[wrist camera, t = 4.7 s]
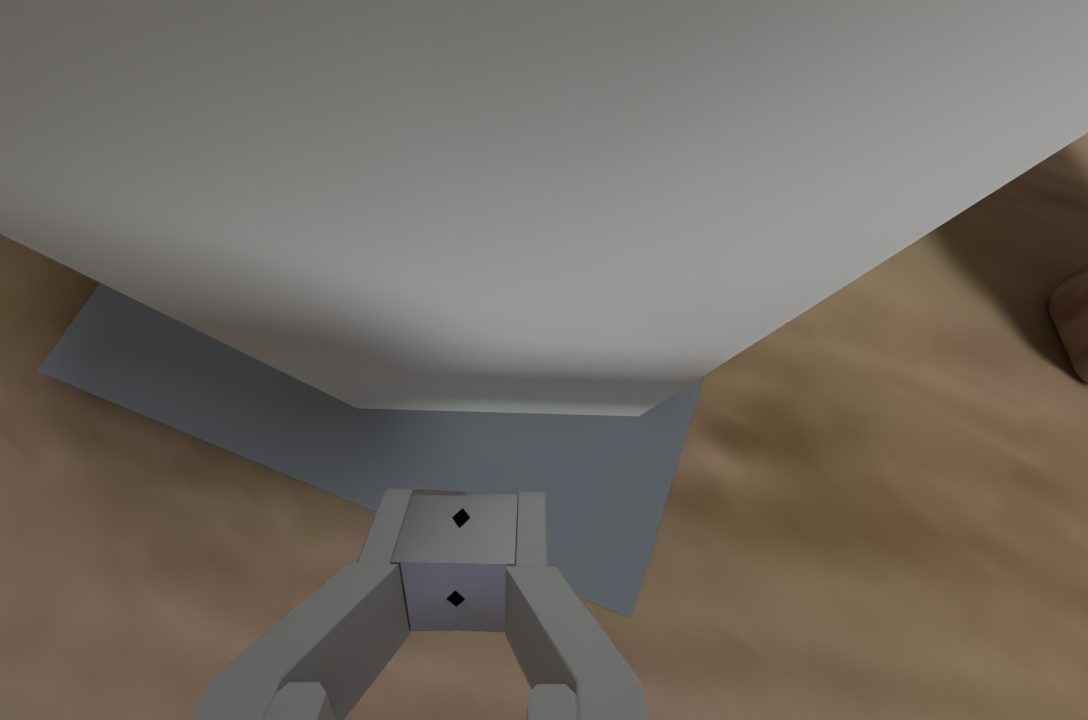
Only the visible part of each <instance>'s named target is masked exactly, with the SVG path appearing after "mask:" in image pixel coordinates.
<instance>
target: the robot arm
mask: <svg viewBox="0 0 1088 720" xmlns="http://www.w3.org/2000/svg"><path fill="white" fill-rule="evenodd" d="M452 630H460V631H484V632H505V636H506V638H507V640H508V642H509V644H510V646H511V648H512V650H513V652H514V654H515V656H516V658H517V660H518V662H519V664H520V667H521V669H522V671H523V673H524V675H525V677H526V679H527V681H528V683H529V685H530V687H531V689H532V691H531V692H530V693H529V694H528V706H527V720H649V719H648V714H647V708H646V703H645V697H644V692H643V686H642V682H641V681H640V680H639V678H638V677H637V676H636V674H635V673H634V672H633V670H632V669H631V668H630V666H629V665H628V663H627V662H626V661H625V659H624V658H623V657H622V655H621V654H620V653H619V651H618V650H617V649H616V647H615V646H614V644H613V643H612V642H611V640H610V639H609V638H608V636H607V635H606V634H605V632H604V631H603V630H602V628H601V627H600V626H599V624H598V623H597V621H596V620H595V619H594V617H593V616H592V615H591V613H590V612H589V611H588V609H587V608H586V607H585V605H584V604H583V603H582V601H581V600H580V598H579V597H578V596H577V594H576V593H575V592H574V590H573V589H572V588H571V586H570V585H569V584H568V582H567V581H566V579H565V578H564V577H563V575H562V574H561V573H560V571H559V570H558V569H557V567H552V566H548V554H547V517H546V495H545V493H544V492H519V495H518V492H495V491H467V492H465V491H444V490H423V489H415V490H412V489H392V488H388V489H387V491H386V492H385V493H384V494H383V496H382V499H381V501H380V504H379V506H378V509H377V512H376V514H375V517H374V519H373V522H372V524H371V527H370V530H369V532H368V535H367V537H366V540H365V542H364V545H363V548H362V550H361V553H360V555H359V558H358V561H357V563H347V564H346V565H345V566H344V567H343V568H341V569H340V570H339V571H338V572H337V573H336V574H334V575H333V576H332V577H331V578H330V579H328V580H327V581H326V582H325V583H324V584H323V585H321V586H320V587H319V588H318V589H317V590H315V591H314V592H313V593H312V594H311V595H310V596H308V597H307V598H306V599H305V600H304V601H302V602H301V603H300V604H299V605H298V606H297V607H295V608H294V609H293V610H292V611H291V612H289V613H288V614H287V615H286V616H285V617H284V618H282V619H281V620H280V621H279V622H278V623H276V624H275V625H274V626H273V627H272V628H271V629H269V630H268V631H267V632H266V633H265V634H263V635H262V636H261V637H260V638H259V639H257V640H256V641H255V642H254V643H253V644H252V645H250V646H249V647H248V648H247V649H246V650H244V651H243V652H242V653H241V654H240V655H239V656H237V657H236V658H235V659H234V660H233V661H231V662H230V663H229V664H228V665H227V666H226V667H224V668H223V669H222V670H221V671H220V672H218V673H217V674H216V675H215V676H214V677H213V678H212V679H211V681H210V682H209V684H208V686H207V688H206V689H205V691H204V693H203V695H202V697H201V698H200V700H199V702H198V704H197V705H196V707H195V709H194V711H193V713H192V714H191V716H190V718H189V720H344V719H345V718H346V716H347V715H348V714H349V712H350V711H351V710H352V709H353V707H354V706H355V705H356V703H357V702H358V701H359V700H360V698H361V697H362V696H363V694H364V693H365V692H366V690H367V689H368V688H369V687H370V685H371V684H372V683H373V681H374V680H375V679H376V678H377V676H378V675H379V674H380V672H381V671H382V670H383V669H384V667H385V666H386V665H387V663H388V662H389V661H390V659H391V658H392V657H393V656H394V654H395V653H396V652H397V650H398V649H399V648H400V647H401V645H402V644H403V643H404V641H405V640H406V639H407V638H408V636H409V635H410V633H409V631H452Z"/></svg>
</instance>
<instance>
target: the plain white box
mask: <svg viewBox="0 0 1088 720" xmlns="http://www.w3.org/2000/svg"><path fill="white" fill-rule="evenodd" d="M1087 132H1088V0H0V234H2V235H4V236H6V237H8V238H10V239H12V240H14V241H16V242H18V243H20V244H22V245H24V246H26V247H28V248H30V249H32V250H35V251H37V252H39V253H41V254H43V255H45V256H47V257H49V258H51V259H53V260H55V261H57V262H59V263H61V264H63V265H65V266H67V267H69V268H71V269H73V270H75V271H77V272H79V273H81V274H84V275H86V276H88V277H90V278H92V279H94V280H96V281H98V282H100V283H102V284H104V285H106V286H108V287H110V288H112V289H114V290H116V291H118V292H120V293H122V294H124V295H126V296H128V297H130V298H133V299H135V300H137V301H139V302H141V303H143V304H145V305H147V306H149V307H151V308H153V309H155V310H157V311H159V312H161V313H163V314H165V315H167V316H169V317H171V318H173V319H175V320H177V321H179V322H182V323H184V324H186V325H188V326H190V327H192V328H194V329H196V330H198V331H200V332H202V333H204V334H206V335H208V336H210V337H212V338H214V339H216V340H218V341H220V342H222V343H224V344H226V345H229V346H231V347H233V348H235V349H237V350H239V351H241V352H243V353H245V354H247V355H249V356H251V357H253V358H255V359H257V360H259V361H261V362H263V363H265V364H267V365H269V366H271V367H273V368H275V369H278V370H280V371H282V372H284V373H286V374H288V375H290V376H292V377H294V378H296V379H298V380H300V381H302V382H304V383H306V384H308V385H310V386H312V387H314V388H316V389H318V390H320V391H322V392H324V393H327V394H329V395H331V396H333V397H335V398H337V399H339V400H341V401H343V402H345V403H347V404H349V405H351V406H353V407H355V408H362V409H397V410H433V411H468V412H503V413H539V414H574V415H609V416H640V415H642V414H643V413H645V412H646V411H648V410H650V409H651V408H653V407H654V406H656V405H658V404H659V403H661V402H662V401H664V400H665V399H667V398H669V397H670V396H672V395H673V394H675V393H676V392H678V391H680V390H681V389H683V388H684V387H686V386H688V385H689V384H691V383H692V382H694V381H695V380H697V379H699V378H700V377H702V376H703V375H705V374H707V373H708V372H710V371H711V370H713V369H714V368H716V367H718V366H719V365H721V364H722V363H724V362H725V361H727V360H729V359H730V358H732V357H733V356H735V355H737V354H738V353H740V352H741V351H743V350H744V349H746V348H748V347H749V346H751V345H752V344H754V343H756V342H757V341H759V340H760V339H762V338H763V337H765V336H767V335H768V334H770V333H771V332H773V331H774V330H776V329H778V328H779V327H781V326H782V325H784V324H786V323H787V322H789V321H790V320H792V319H793V318H795V317H797V316H798V315H800V314H801V313H803V312H805V311H806V310H808V309H809V308H811V307H812V306H814V305H816V304H817V303H819V302H820V301H822V300H823V299H825V298H827V297H828V296H830V295H831V294H833V293H835V292H836V291H838V290H839V289H841V288H842V287H844V286H846V285H847V284H849V283H850V282H852V281H854V280H855V279H857V278H858V277H860V276H861V275H863V274H865V273H866V272H868V271H869V270H871V269H872V268H874V267H876V266H877V265H879V264H880V263H882V262H884V261H885V260H887V259H888V258H890V257H891V256H893V255H895V254H896V253H898V252H899V251H901V250H903V249H904V248H906V247H907V246H909V245H910V244H912V243H914V242H915V241H917V240H918V239H920V238H921V237H923V236H925V235H926V234H928V233H929V232H931V231H933V230H934V229H936V228H937V227H939V226H940V225H942V224H944V223H945V222H947V221H948V220H950V219H952V218H953V217H955V216H956V215H958V214H959V213H961V212H963V211H964V210H966V209H967V208H969V207H970V206H972V205H974V204H975V203H977V202H978V201H980V200H982V199H983V198H985V197H986V196H988V195H989V194H991V193H993V192H994V191H996V190H997V189H999V188H1001V187H1002V186H1004V185H1005V184H1007V183H1008V182H1010V181H1012V180H1013V179H1015V178H1016V177H1018V176H1019V175H1021V174H1023V173H1024V172H1026V171H1027V170H1029V169H1031V168H1032V167H1034V166H1035V165H1037V164H1038V163H1040V162H1042V161H1043V160H1045V159H1046V158H1048V157H1050V156H1051V155H1053V154H1054V153H1056V152H1057V151H1059V150H1061V149H1062V148H1064V147H1065V146H1067V145H1069V144H1070V143H1072V142H1073V141H1075V140H1076V139H1078V138H1080V137H1081V136H1083V135H1084V134H1086V133H1087Z"/></svg>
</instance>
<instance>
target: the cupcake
mask: <svg viewBox="0 0 1088 720" xmlns="http://www.w3.org/2000/svg"><path fill="white" fill-rule="evenodd" d="M1049 312H1050V315H1051V317H1052V319H1053V321H1054V323H1055V325H1056V329H1057V331H1058V333H1059V336H1060V338H1061V341H1062V344H1063V346H1064V348H1065V350H1066V352H1067V353H1068V355H1069V358H1070V360H1071V363H1072V366H1073V369H1074V371H1075V372H1076V373H1077V374H1078V376H1079V377H1080V378H1081V379H1082V380H1084V381H1085V382H1086V383H1087V384H1088V265H1087V266H1085V267H1083V268H1081V269H1080V270H1078V271H1076V272H1075V273H1073V274H1072V275H1070V276H1068V277H1067V278H1066V279H1064V280H1063V281H1062V282H1061V283H1060V284H1059V285H1058V286H1057V287H1056V288H1055V289H1054V290H1053V292H1052V295H1051V299H1050V302H1049Z"/></svg>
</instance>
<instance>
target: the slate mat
mask: <svg viewBox="0 0 1088 720" xmlns="http://www.w3.org/2000/svg"><path fill="white" fill-rule="evenodd" d="M37 371H38V372H40V373H43V374H45V375H47V376H50V377H52V378H55V379H57V380H59V381H62V382H64V383H67V384H69V385H71V386H74V387H76V388H79V389H81V390H83V391H86V392H88V393H91V394H93V395H95V396H98V397H100V398H103V399H105V400H107V401H110V402H112V403H115V404H117V405H119V406H122V407H124V408H127V409H129V410H131V411H134V412H136V413H139V414H141V415H144V416H146V417H148V418H151V419H153V420H156V421H158V422H160V423H163V424H165V425H168V426H170V427H172V428H175V429H177V430H180V431H182V432H184V433H187V434H189V435H192V436H194V437H196V438H199V439H201V440H204V441H206V442H208V443H211V444H213V445H216V446H218V447H220V448H223V449H225V450H228V451H230V452H232V453H235V454H237V455H240V456H242V457H244V458H247V459H249V460H252V461H254V462H256V463H259V464H261V465H264V466H266V467H268V468H271V469H273V470H276V471H278V472H280V473H283V474H285V475H288V476H290V477H292V478H295V479H297V480H300V481H302V482H304V483H307V484H309V485H312V486H314V487H316V488H319V489H321V490H324V491H326V492H329V493H331V494H333V495H336V496H338V497H341V498H343V499H345V500H348V501H350V502H353V503H355V504H357V505H360V506H362V507H365V508H367V509H369V510H372V511H374V512H377V509H378V506H379V504H380V501H381V499H382V496H383V494H384V493H385V492H386V491H387V489H388V488H392V489H412V490H415V489H423V490H444V491H465V492H467V491H495V492H518V495H519V492H544V493H545V495H546V517H547V554H548V566H552V567H557V569H558V570H559V571H560V573H561V574H562V575H563V577H564V578H565V579H566V581H567V582H568V584H569V585H570V586H571V588H572V589H573V590H574V592H575V593H576V594H577V596H578V597H581V598H583V599H586V600H588V601H590V602H593V603H595V604H598V605H600V606H602V607H605V608H607V609H610V610H612V611H614V612H617V613H619V614H622V615H624V616H626V617H629V618H631V617H632V613H633V610H634V607H635V603H636V600H637V597H638V593H639V590H640V587H641V583H642V580H643V577H644V573H645V570H646V567H647V563H648V560H649V557H650V553H651V550H652V547H653V543H654V540H655V537H656V533H657V530H658V527H659V523H660V520H661V516H662V513H663V510H664V506H665V503H666V500H667V496H668V493H669V490H670V486H671V483H672V480H673V476H674V473H675V470H676V466H677V463H678V460H679V456H680V453H681V450H682V446H683V443H684V440H685V436H686V433H687V430H688V426H689V423H690V420H691V416H692V413H693V410H694V406H695V403H696V400H697V396H698V393H699V390H700V386H701V383H702V380H703V376H704V375H703V376H702V377H700V378H699V379H697V380H695V381H694V382H692V383H691V384H689V385H688V386H686V387H684V388H683V389H681V390H680V391H678V392H676V393H675V394H673V395H672V396H670V397H669V398H667V399H665V400H664V401H662V402H661V403H659V404H658V405H656V406H654V407H653V408H651V409H650V410H648V411H646V412H645V413H643V414H642V415H640V416H609V415H574V414H539V413H503V412H468V411H433V410H397V409H362V408H355V407H353V406H351V405H349V404H347V403H345V402H343V401H341V400H339V399H337V398H335V397H333V396H331V395H329V394H327V393H324V392H322V391H320V390H318V389H316V388H314V387H312V386H310V385H308V384H306V383H304V382H302V381H300V380H298V379H296V378H294V377H292V376H290V375H288V374H286V373H284V372H282V371H280V370H278V369H275V368H273V367H271V366H269V365H267V364H265V363H263V362H261V361H259V360H257V359H255V358H253V357H251V356H249V355H247V354H245V353H243V352H241V351H239V350H237V349H235V348H233V347H231V346H229V345H226V344H224V343H222V342H220V341H218V340H216V339H214V338H212V337H210V336H208V335H206V334H204V333H202V332H200V331H198V330H196V329H194V328H192V327H190V326H188V325H186V324H184V323H182V322H179V321H177V320H175V319H173V318H171V317H169V316H167V315H165V314H163V313H161V312H159V311H157V310H155V309H153V308H151V307H149V306H147V305H145V304H143V303H141V302H139V301H137V300H135V299H133V298H130V297H128V296H126V295H124V294H122V293H120V292H118V291H116V290H114V289H112V288H110V287H108V286H106V285H104V284H102V283H100V284H99V285H98V287H97V288H96V290H95V291H94V292H93V294H92V295H91V296H90V298H89V299H88V301H87V302H86V303H85V305H84V306H83V307H82V309H81V310H80V312H79V313H78V314H77V316H76V317H75V319H74V320H73V321H72V323H71V324H70V325H69V327H68V328H67V330H66V331H65V332H64V334H63V335H62V336H61V338H60V339H59V341H58V342H57V343H56V345H55V346H54V348H53V349H52V350H51V352H50V353H49V354H48V356H47V357H46V359H45V360H44V361H43V363H42V364H41V365H40V367H39V368H38V370H37Z"/></svg>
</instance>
